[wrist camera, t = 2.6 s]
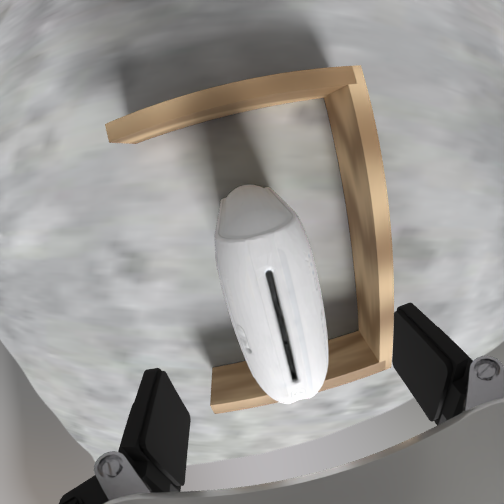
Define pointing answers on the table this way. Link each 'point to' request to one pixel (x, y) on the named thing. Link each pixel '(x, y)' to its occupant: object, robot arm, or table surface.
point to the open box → (356, 198)
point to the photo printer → (272, 292)
